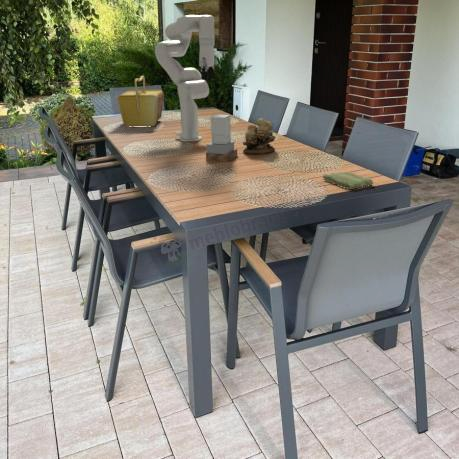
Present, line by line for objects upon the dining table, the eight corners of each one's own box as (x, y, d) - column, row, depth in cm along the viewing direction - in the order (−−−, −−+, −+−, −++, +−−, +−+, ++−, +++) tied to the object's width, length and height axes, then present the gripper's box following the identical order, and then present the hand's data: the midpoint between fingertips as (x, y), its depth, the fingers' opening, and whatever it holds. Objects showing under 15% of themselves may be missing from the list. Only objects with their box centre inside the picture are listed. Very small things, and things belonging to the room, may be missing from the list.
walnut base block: (206, 161, 226) (205, 152, 225) (214, 155, 237) (214, 147, 235) (230, 162, 223) (230, 154, 221) (237, 156, 233) (237, 148, 232)
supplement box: (231, 141, 228) (230, 114, 223) (225, 144, 222) (224, 117, 217) (217, 140, 230) (216, 114, 226) (211, 143, 224) (210, 116, 219)
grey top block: (206, 152, 225) (206, 144, 223) (215, 148, 233) (215, 139, 232) (226, 154, 221) (226, 145, 220) (234, 149, 230) (234, 141, 228)
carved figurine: (268, 147, 249) (269, 114, 242) (280, 152, 239) (282, 118, 232) (238, 151, 241) (238, 117, 235) (249, 156, 232) (250, 121, 225)
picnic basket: (159, 128, 302) (156, 78, 290) (119, 128, 303) (114, 79, 291) (165, 120, 329) (162, 74, 317) (128, 120, 330) (124, 75, 318)
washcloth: (344, 176, 200) (345, 168, 199) (374, 187, 186) (375, 179, 185) (319, 180, 195) (320, 173, 193) (349, 192, 180) (349, 184, 179)
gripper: (205, 42, 242) (206, 77, 249) (193, 43, 227) (194, 80, 234) (219, 42, 240) (220, 77, 247) (208, 43, 225) (209, 80, 232)
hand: (208, 78), depth 240 cm, fingers open, 9 cm apart
